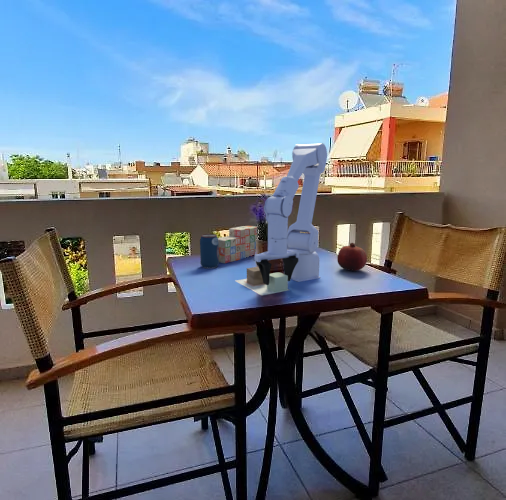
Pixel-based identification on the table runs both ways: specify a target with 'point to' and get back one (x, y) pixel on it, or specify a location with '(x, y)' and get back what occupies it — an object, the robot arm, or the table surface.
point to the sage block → (278, 282)
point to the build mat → (256, 287)
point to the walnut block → (254, 276)
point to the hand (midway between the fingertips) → (277, 282)
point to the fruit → (352, 257)
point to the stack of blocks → (238, 244)
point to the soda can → (209, 251)
